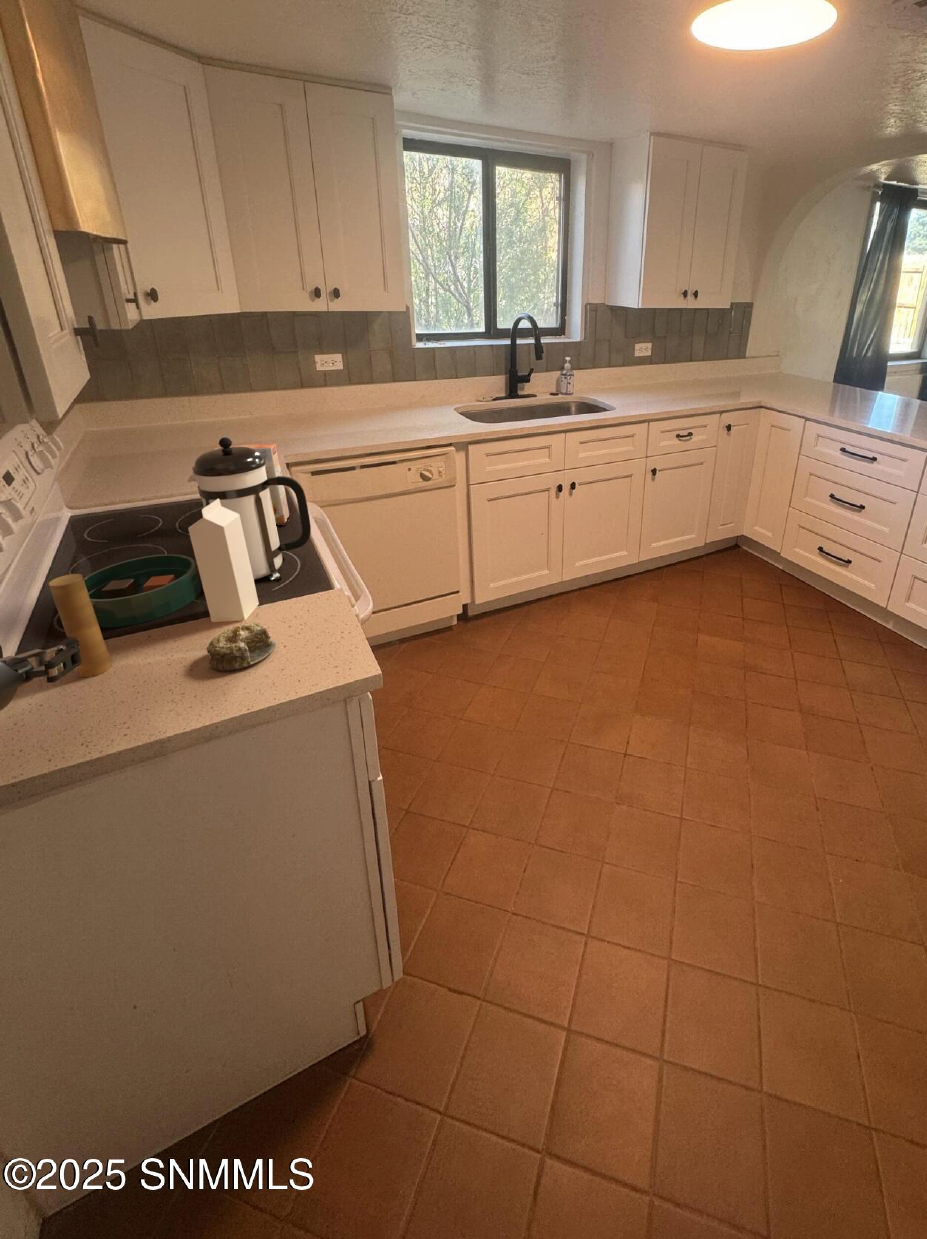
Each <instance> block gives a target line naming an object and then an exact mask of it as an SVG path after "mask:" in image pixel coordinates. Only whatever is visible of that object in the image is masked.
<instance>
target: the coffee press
mask: <svg viewBox="0 0 927 1239" xmlns="http://www.w3.org/2000/svg"><path fill="white" fill-rule="evenodd" d="M218 445H219V447H222V448H221V449H216V450H214V449H212V450H209V451H206V452H204V453H202V454H201V455H199V456H198V457H197V458H196V459H195V461H194V466H192V468H191V470H192V473H191V474H190V475H189V477H188V479H187V483H191V482H192V483H193V482H195V483H197V484H198V485H197V490H198V495H199V497H200V498H201V502H202V506H203V508H205V507H206V506H208V505H209V504H211V503H212V502H214V501H215V500H217V499H219V500H220V504H221V506H222V507H224V508H226V509H229V510H231V511H233V512H235V513H238V514H239V515H240V519H241V524H242V528H243V533H244V538H245V542H246V547H247V551H248V556H249V561H250V565H251V570H252V574H253V579H254V580H258V579H262V578H264V577H266V578H267V579H269V581H273V580H275V582H276V584H277V583H278V582H280V581H282V576H281V575H280V573H279V571H278V570H279V569H280V567H281V566H282V564H283V561H284V562H285V558H284V557H283V554H282V552H286V551H292V550H296V549H298V548H301V547H303V546H304V545H306V544H307V542H308V541H309V539H310V537H311V532H312V531H311V530H312V527H311V518H310V513H309V507H308V502H307V497H306V494H305V490H304V488H303V486H302V485H301V484H300V482H298V481H297V480H296V479H295V478H293V477H289V476H286V475H285V476H284V475H282V476H277V477H274V478H268V476H267V475H266V470H265V465H266V459H265V458H264V457H262V455H261V453H260V452H258V451H257V450H255V449H252V448H248V447H231V446H233V441H232V440H231V438H229V437H227V436H226V437H225V436H224V437H221V438H219V441H218ZM271 485H284V487H288V488H289V489H291V490H292V491H293V493H294V495H295V498H296V501H297V503H296V504H297V509H298V513H299V520H300V525H301V534H300V536H299V537H298V538H297V539H294V540H290V541H281V540H280V538H279V533H278V528H277V527H278V526H276V522H275V516H274V511H273V506H272V501H271V496H270V491H269V486H271Z"/></svg>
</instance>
